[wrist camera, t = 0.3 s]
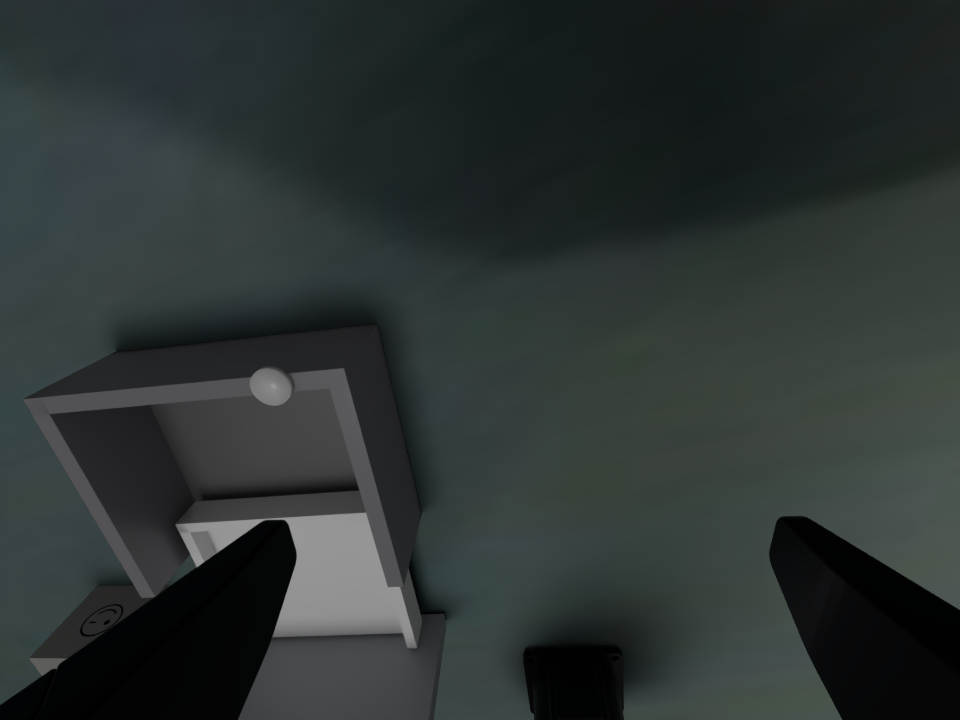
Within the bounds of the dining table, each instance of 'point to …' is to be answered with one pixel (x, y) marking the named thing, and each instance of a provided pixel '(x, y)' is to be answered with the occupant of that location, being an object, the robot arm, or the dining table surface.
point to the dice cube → (87, 624)
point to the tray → (331, 615)
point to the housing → (232, 438)
